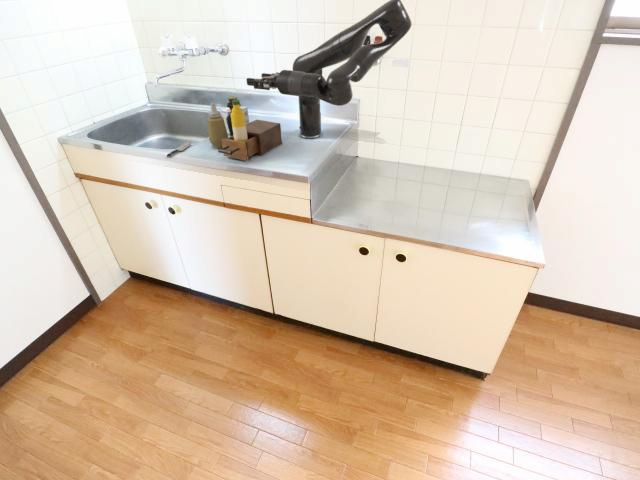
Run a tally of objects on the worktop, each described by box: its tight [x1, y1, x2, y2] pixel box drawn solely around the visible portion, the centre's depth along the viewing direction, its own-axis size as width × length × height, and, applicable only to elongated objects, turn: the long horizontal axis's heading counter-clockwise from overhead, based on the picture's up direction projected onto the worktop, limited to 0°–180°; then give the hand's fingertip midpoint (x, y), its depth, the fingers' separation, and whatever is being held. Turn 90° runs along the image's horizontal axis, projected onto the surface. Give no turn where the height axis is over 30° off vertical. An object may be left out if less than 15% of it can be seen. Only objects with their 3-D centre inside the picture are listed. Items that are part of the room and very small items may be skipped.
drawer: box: [217, 134, 259, 162], centre depth 147 cm, size 19×11×7 cm, turn 151°
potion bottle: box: [226, 96, 242, 137], centre depth 161 cm, size 8×8×18 cm
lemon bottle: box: [230, 99, 248, 142], centre depth 143 cm, size 5×5×20 cm
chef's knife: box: [166, 140, 192, 158], centre depth 157 cm, size 19×1×3 cm
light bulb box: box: [220, 104, 250, 135], centre depth 172 cm, size 11×7×11 cm, turn 130°
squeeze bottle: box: [206, 102, 229, 149], centre depth 154 cm, size 8×8×18 cm
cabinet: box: [246, 119, 283, 156], centre depth 156 cm, size 15×12×9 cm
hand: (254, 79), depth 129 cm, fingers open, 8 cm apart
